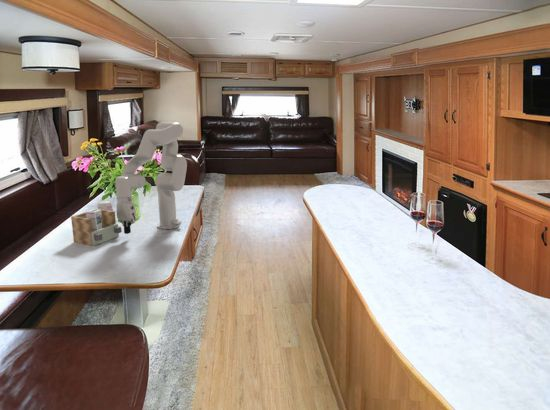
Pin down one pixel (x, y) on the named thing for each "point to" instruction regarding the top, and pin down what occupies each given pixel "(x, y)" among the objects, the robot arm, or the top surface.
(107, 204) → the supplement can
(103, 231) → the tray
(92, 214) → the syrup box
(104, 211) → the bay
